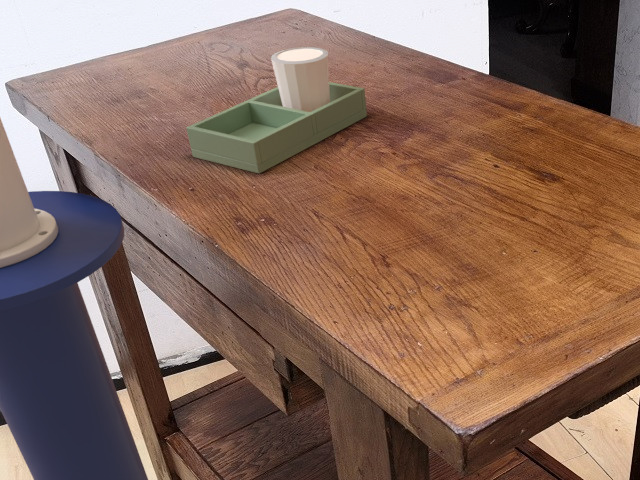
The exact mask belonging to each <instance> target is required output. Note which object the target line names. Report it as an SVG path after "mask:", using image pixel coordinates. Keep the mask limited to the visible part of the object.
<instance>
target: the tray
mask: <svg viewBox="0 0 640 480" xmlns="http://www.w3.org/2000/svg"><path fill="white" fill-rule="evenodd" d="M329 92H330V103H328V104H326V105H324V106H322V107H320V108H318V109H316V110H314V111H312V112H307V111H302V110H297V109H292V108H287V107H283V105H282V101H281V97H280V93H279V89H278V86H276V87H274V88H272V89H270V90H267V91H265V92H263V93H261V94H257V95H256V96H253V97H251V98H249V99H246V100H244V101H242V102H240V103H238V104H236V105H234V106H231V107H229V108H227V109H224V110H222V111H220V112H218V113H215V114H213V115H211V116H208V117H207V118H204V119H201V120H199V121H198V122H196V123H193V124H191V125H189V126H186V127H185V129H186V134H187V138H188V141H189V146H190V149H191V154H192V157H193V158H196V159H200V160H204V161H208V162H211V163H215V164H220V165H223V166H227V167H231V168H235V169H238V170H243V171H247V172H251V173H255V174H261V173H264V172H265V171H267V170H269V169H271V168H273V167H275V166H277V165H279V164H280V163H282V162H285V160H288V159H290V158H292V157H293V156H295V155H297V154H299V153H301V152H303V151H305V150H306V149H308V148H310V147H312V146H314V145H316V144H318V143H320V142H322V141H324V140H326V139H328V138H329V137H331V136H333V135H334V134H337V133H338V132H340V131H342V130H344V129H346V128H348V127H349V126H351V125H354V124H355V123H358V122H359V121H361V120H363V119H365V118H366V117H367V116H368V112H367V101H366V90H365V88H364V87H358V86H354V85H348V84H342V83H337V82H332V81H329Z"/></svg>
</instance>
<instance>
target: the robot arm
mask: <svg viewBox="0 0 640 480" xmlns="http://www.w3.org/2000/svg"><path fill="white" fill-rule="evenodd" d="M28 192H29V190H28V188H27V185H26V182H25V180H24V177H23V175H22V171H21V169H20V166H19V164H18V161H17V159H16V155H15V153H14V150H13V148H12V145H11V142H10V140H9V137H8V134H7V132H6V129H5V126H4V123H3V121H2V118H1V117H0V268H3V267H6V266H9V265H13V264H16V263H18V262H21V261H24V260H26V259H28V258H30V257H32V256H34V255H36V254H38V253H40V252H41V251H43V250H44V249H46V248H47V247H48V246H49V245H50V244H51V243H52V242H53V241H54V240H55V238H56V237H57V234H58V226H57V223H56V221H55V218H54V217H53V216H52V215H51V214H49V213H47V212H45V211H43V210H39V209H34V206H33V204H32V201H31V198H30V196H29V193H28Z"/></svg>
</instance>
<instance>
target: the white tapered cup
mask: <svg viewBox="0 0 640 480" xmlns="http://www.w3.org/2000/svg"><path fill="white" fill-rule="evenodd" d="M270 60H271V64H272V68H273V72H274V77H275V80H276V81H275V82H276V84H277V87H278V89H279V93H280V97H281V101H282V105H283V107H287V108H292V109H297V110H302V111H307V112H312V111H314V110H316V109H318V108H320V107H322V106H324V105H326V104H328V103H330V92H329V82H330V69H329V68H330V66H329V51H328V50H326V49H324V48H321V47H316V46H315V47H314V46H301V47H291V48H287V49H283V50H279V51H277V52H275V53H273V54H272V55H271V58H270Z"/></svg>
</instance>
